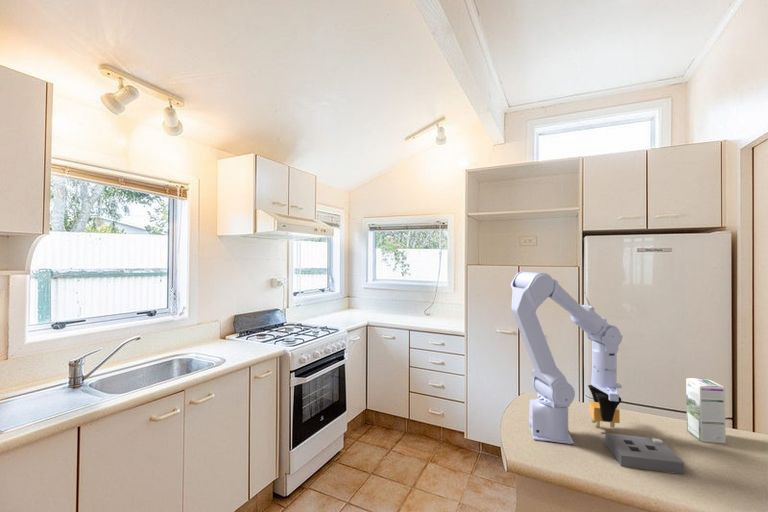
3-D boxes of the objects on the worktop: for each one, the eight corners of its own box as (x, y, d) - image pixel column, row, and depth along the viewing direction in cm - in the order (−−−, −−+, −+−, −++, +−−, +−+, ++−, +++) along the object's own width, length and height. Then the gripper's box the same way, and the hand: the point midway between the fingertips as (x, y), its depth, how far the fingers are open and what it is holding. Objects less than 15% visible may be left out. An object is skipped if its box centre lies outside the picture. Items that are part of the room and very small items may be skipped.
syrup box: (727, 444, 87) (727, 386, 87) (699, 441, 89) (699, 385, 88) (710, 432, 93) (710, 378, 93) (685, 430, 94) (685, 377, 94)
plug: (594, 428, 94) (594, 407, 94) (589, 420, 98) (589, 401, 98) (619, 430, 92) (619, 410, 92) (613, 423, 96) (613, 403, 96)
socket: (621, 466, 79) (621, 452, 79) (605, 442, 89) (605, 430, 89) (683, 474, 76) (683, 460, 76) (660, 448, 86) (660, 436, 86)
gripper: (632, 377, 87) (632, 431, 87) (610, 360, 101) (610, 406, 101) (600, 375, 88) (600, 428, 89) (583, 358, 102) (583, 404, 103)
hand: (604, 416), depth 95 cm, fingers closed on plug, 4 cm apart
